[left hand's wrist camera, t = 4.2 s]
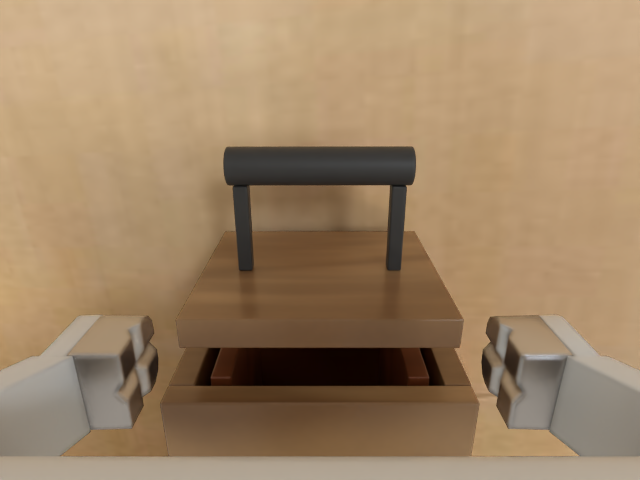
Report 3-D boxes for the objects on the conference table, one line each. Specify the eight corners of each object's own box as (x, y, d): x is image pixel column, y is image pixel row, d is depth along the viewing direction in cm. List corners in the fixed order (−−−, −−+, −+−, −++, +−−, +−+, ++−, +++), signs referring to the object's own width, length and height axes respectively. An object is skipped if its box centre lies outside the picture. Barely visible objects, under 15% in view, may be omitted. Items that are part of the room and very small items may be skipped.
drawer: (216, 130, 22) (154, 171, 14) (423, 130, 22) (484, 170, 14) (247, 496, 31) (220, 653, 23) (393, 496, 31) (419, 653, 23)
